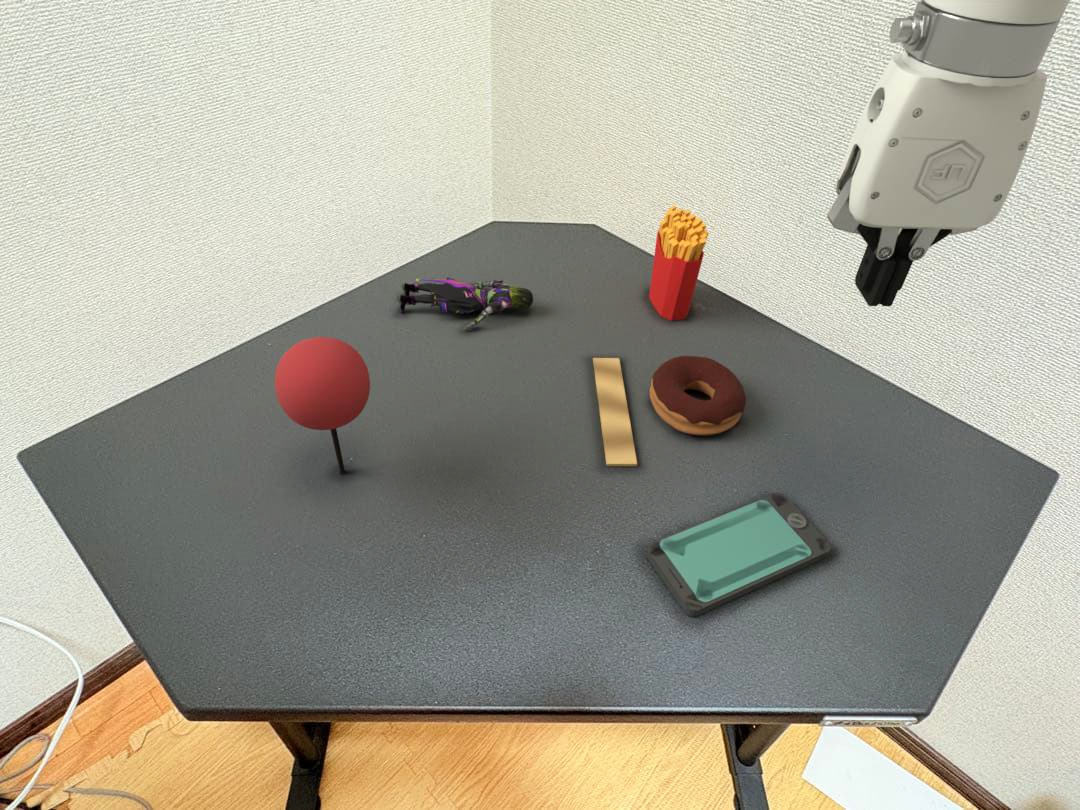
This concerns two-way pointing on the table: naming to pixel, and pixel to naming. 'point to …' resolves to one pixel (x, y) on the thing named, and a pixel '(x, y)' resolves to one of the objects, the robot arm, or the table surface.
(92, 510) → the table surface
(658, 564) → the smartphone
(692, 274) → the french fries
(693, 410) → the donut
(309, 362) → the lollipop
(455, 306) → the character figure
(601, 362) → the strip
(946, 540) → the table surface
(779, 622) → the table surface
